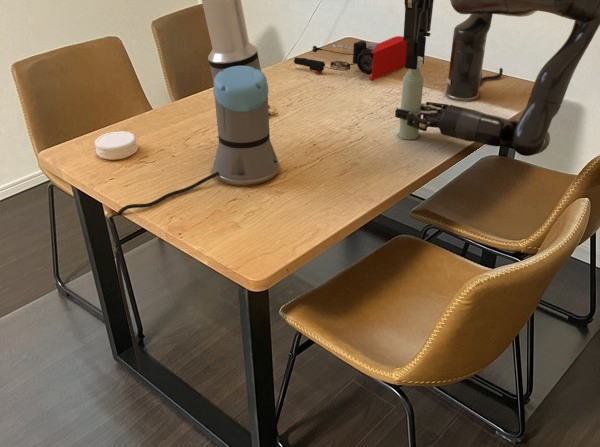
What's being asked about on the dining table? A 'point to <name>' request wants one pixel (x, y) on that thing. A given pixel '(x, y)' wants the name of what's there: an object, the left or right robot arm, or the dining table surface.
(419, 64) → the cap
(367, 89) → the dining table surface
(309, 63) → the electric hoist
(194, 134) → the dining table surface
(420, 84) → the bottle
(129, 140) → the white thick disc
